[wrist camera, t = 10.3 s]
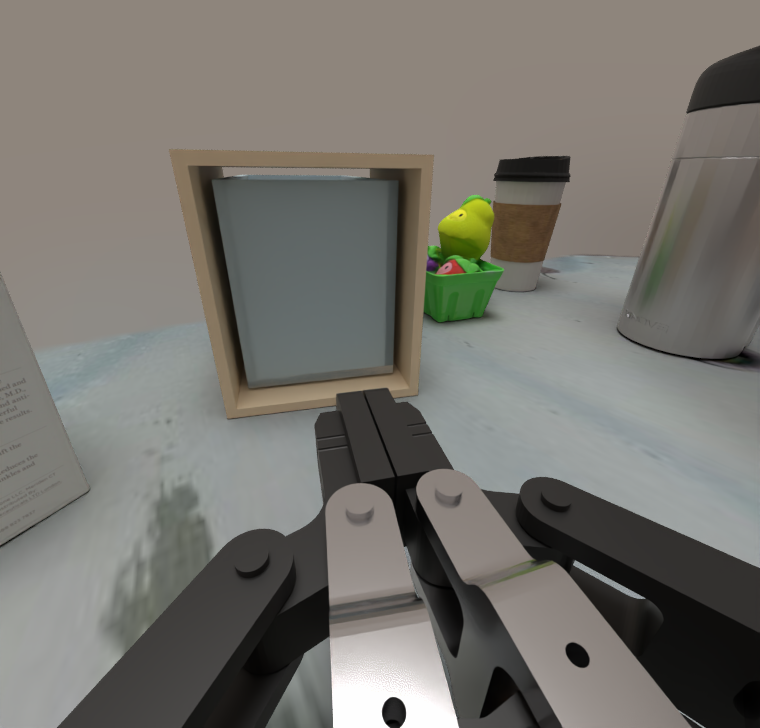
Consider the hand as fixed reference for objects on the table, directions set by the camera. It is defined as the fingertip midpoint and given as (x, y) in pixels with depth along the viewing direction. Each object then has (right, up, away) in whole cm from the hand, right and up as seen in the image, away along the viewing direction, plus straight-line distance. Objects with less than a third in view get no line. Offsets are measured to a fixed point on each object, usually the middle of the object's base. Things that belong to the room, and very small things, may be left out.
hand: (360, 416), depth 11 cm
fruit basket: (+8, +8, +31) cm, 32 cm away
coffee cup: (+18, +12, +38) cm, 44 cm away
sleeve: (-4, +2, +18) cm, 18 cm away
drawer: (-5, +5, +22) cm, 23 cm away
